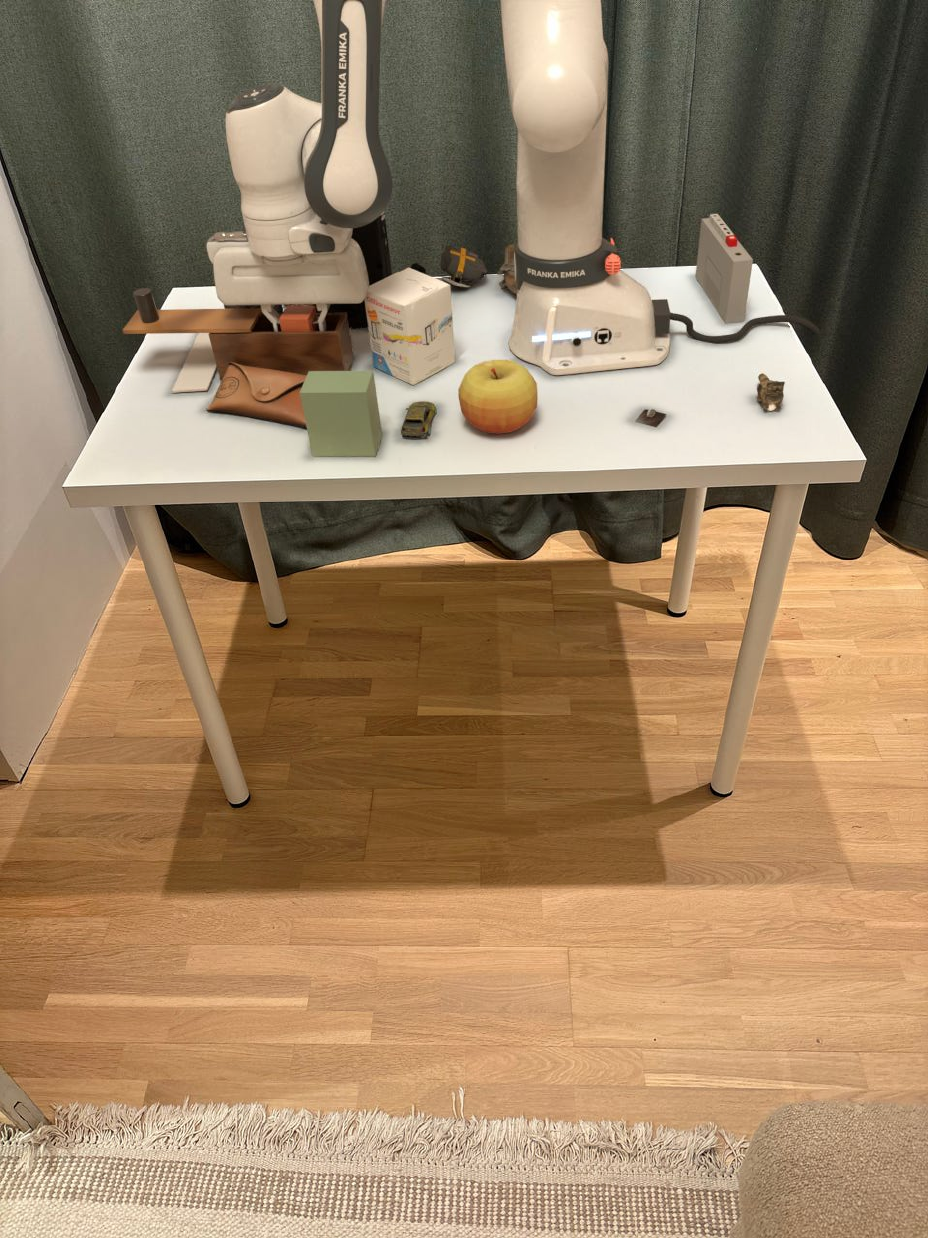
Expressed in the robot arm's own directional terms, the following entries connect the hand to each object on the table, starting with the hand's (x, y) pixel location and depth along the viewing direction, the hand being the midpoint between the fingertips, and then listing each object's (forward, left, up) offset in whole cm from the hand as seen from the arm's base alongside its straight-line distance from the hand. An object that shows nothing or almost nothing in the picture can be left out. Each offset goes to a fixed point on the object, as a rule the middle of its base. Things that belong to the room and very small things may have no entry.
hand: (301, 331), depth 131 cm
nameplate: (+16, -4, -6) cm, 18 cm away
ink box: (-15, -1, -6) cm, 16 cm away
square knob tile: (-47, +13, -6) cm, 49 cm away
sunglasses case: (+2, +10, -6) cm, 12 cm away
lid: (+15, 0, +1) cm, 15 cm away
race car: (-18, +14, -6) cm, 23 cm away
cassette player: (-58, -20, -6) cm, 62 cm away
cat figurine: (-62, +9, -6) cm, 63 cm away
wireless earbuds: (-9, -26, -4) cm, 28 cm away
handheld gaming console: (-5, -13, -6) cm, 15 cm away
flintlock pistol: (-35, -27, -4) cm, 45 cm away
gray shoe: (-20, -30, -2) cm, 36 cm away
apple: (-28, +14, -6) cm, 32 cm away
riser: (-9, +19, -6) cm, 22 cm away
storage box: (+3, 0, -6) cm, 6 cm away
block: (0, 0, -1) cm, 1 cm away
